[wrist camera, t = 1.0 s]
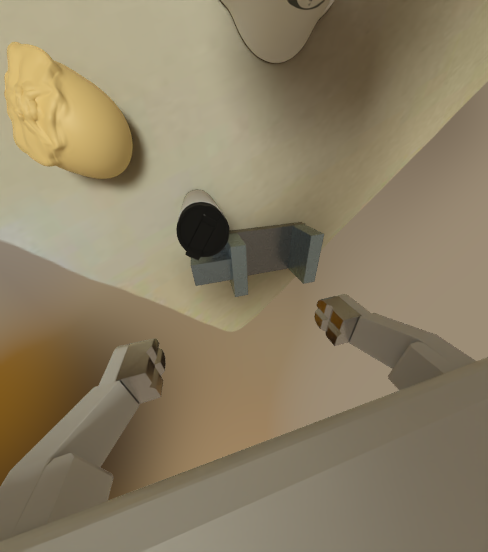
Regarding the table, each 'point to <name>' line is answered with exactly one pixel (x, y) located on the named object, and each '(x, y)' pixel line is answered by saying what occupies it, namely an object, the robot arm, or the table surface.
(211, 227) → the travel mug
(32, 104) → the sculpture
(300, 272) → the vise
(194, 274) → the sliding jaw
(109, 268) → the table surface
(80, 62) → the table surface
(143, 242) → the table surface
